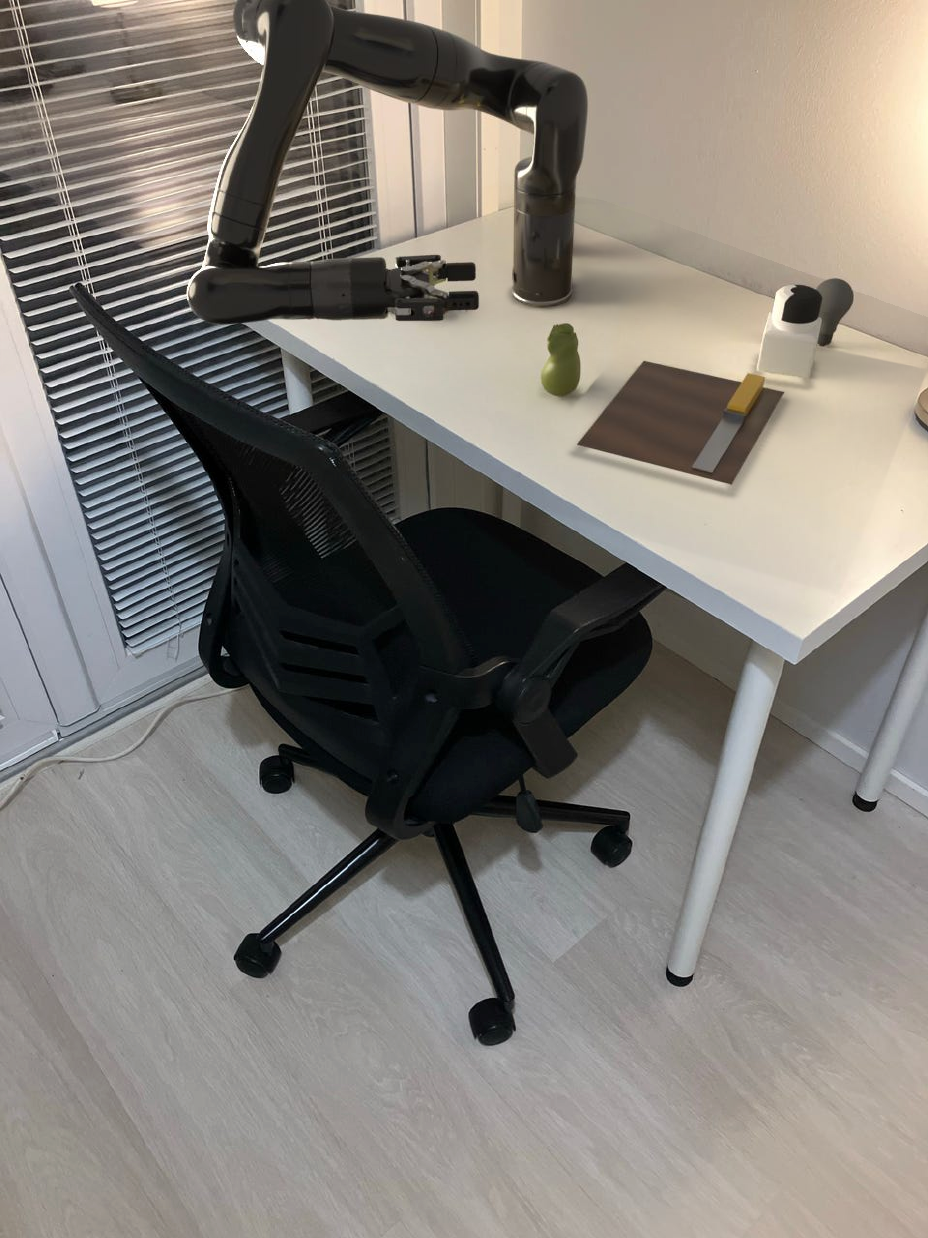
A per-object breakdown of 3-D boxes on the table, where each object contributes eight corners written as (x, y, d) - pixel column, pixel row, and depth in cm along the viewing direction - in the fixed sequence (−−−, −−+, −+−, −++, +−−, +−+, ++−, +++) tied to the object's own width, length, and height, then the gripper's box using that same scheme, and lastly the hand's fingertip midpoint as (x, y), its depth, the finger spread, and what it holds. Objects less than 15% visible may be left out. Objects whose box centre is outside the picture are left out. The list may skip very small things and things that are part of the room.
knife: (744, 384, 143) (746, 372, 141) (764, 389, 142) (766, 377, 140) (690, 468, 128) (692, 456, 127) (712, 474, 127) (714, 461, 126)
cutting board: (642, 369, 149) (643, 360, 148) (782, 401, 142) (784, 391, 141) (576, 454, 133) (576, 444, 132) (729, 494, 126) (731, 484, 125)
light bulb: (801, 335, 156) (815, 270, 149) (840, 338, 155) (856, 272, 148) (803, 352, 152) (817, 287, 145) (842, 356, 151) (859, 289, 144)
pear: (573, 406, 142) (577, 338, 135) (535, 400, 143) (537, 332, 137) (583, 386, 146) (587, 319, 139) (546, 380, 147) (549, 313, 141)
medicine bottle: (812, 363, 149) (830, 282, 141) (807, 387, 144) (825, 305, 136) (761, 356, 151) (776, 276, 143) (754, 380, 146) (769, 298, 138)
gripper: (344, 285, 126) (480, 280, 126) (349, 237, 136) (474, 234, 137) (350, 342, 131) (480, 338, 131) (354, 292, 141) (474, 289, 142)
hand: (477, 285), depth 134 cm, fingers open, 8 cm apart
